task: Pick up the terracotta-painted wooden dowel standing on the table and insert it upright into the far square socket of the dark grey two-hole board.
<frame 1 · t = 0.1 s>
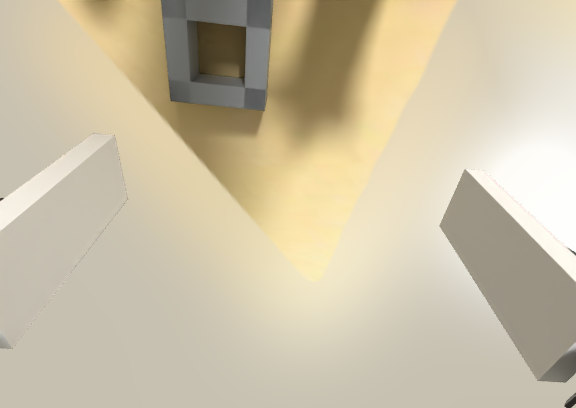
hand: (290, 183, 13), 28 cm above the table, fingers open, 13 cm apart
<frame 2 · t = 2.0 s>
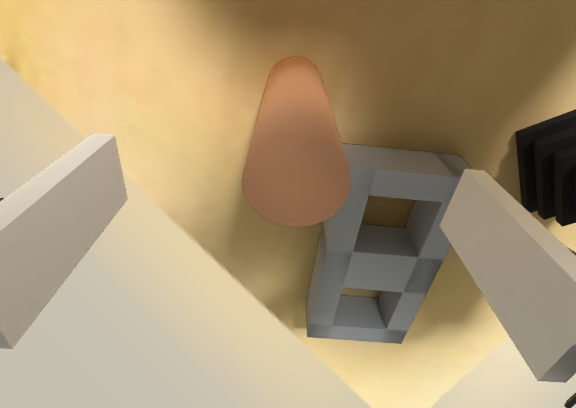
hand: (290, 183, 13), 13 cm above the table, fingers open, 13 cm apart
chess piece: (570, 153, 27), on the table
socket board: (370, 242, 32), on the table
dowel: (294, 86, 24), on the table
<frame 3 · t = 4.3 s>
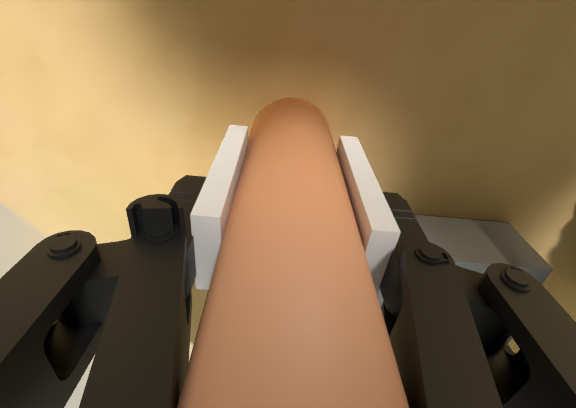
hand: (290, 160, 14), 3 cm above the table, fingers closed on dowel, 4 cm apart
socket board: (385, 321, 25), on the table
dowel: (290, 138, 17), on the table, touching gripper
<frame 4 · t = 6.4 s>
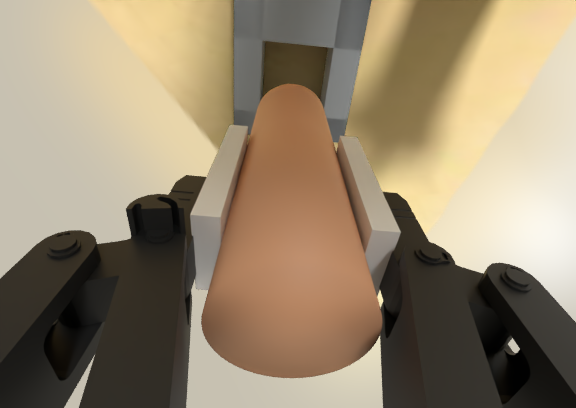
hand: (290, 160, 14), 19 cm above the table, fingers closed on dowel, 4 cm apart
socket board: (300, 8, 28), on the table
dowel: (290, 119, 19), point 14 cm above the table, touching gripper
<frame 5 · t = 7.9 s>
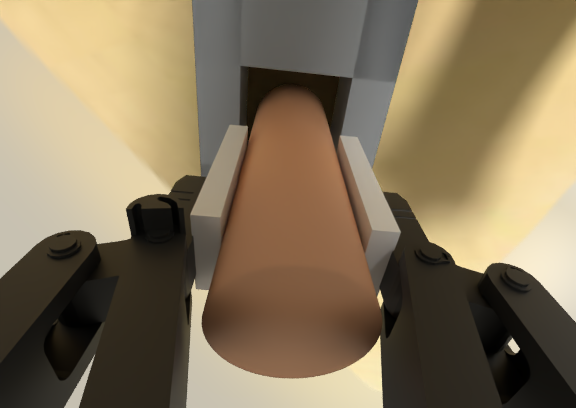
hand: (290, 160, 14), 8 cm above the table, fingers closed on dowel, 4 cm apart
socket board: (300, 15, 18), on the table
dowel: (290, 119, 19), point 3 cm above the table, touching gripper
when the fingers open (6 cm above the table, at t = 8.9 s): dowel stays where it is, on the table.
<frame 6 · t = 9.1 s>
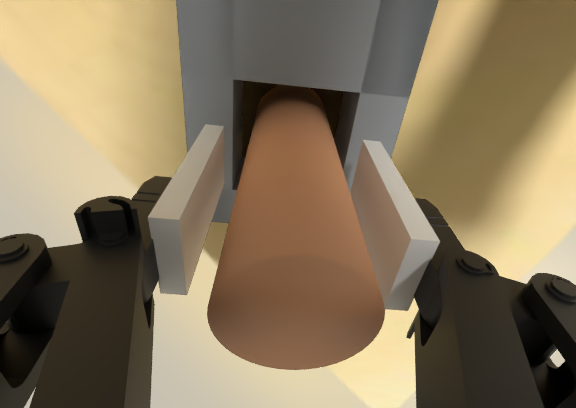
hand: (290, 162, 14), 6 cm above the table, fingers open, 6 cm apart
socket board: (300, 21, 16), on the table
dowel: (290, 118, 19), on the table
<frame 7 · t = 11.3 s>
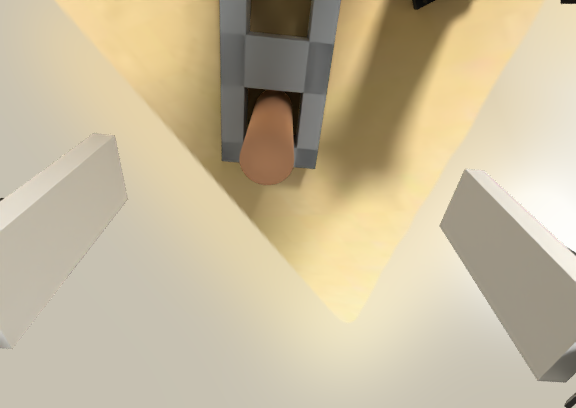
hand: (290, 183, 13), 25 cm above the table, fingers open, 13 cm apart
socket board: (276, 58, 33), on the table
dowel: (273, 107, 36), on the table
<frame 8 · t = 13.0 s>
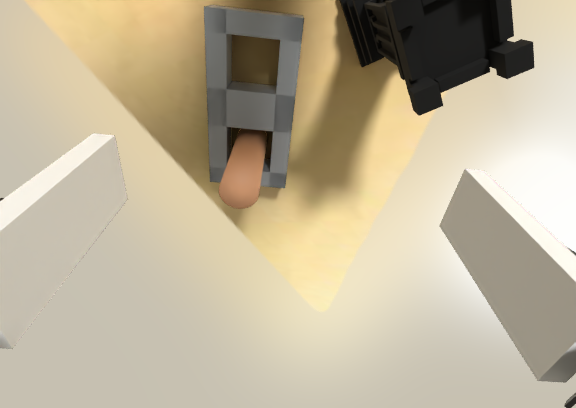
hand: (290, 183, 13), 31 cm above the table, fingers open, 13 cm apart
chess piece: (383, 14, 36), on the table
socket board: (253, 101, 41), on the table
dowel: (252, 138, 44), on the table
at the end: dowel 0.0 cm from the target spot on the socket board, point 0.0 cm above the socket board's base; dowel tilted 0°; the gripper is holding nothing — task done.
